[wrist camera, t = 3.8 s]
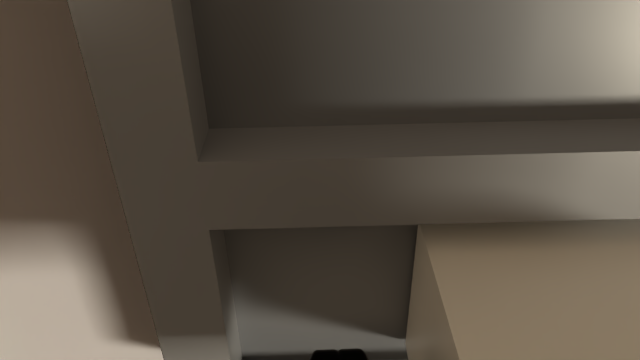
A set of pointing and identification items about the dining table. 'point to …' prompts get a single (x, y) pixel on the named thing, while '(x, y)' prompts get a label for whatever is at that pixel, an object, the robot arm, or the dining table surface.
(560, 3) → the gray shelf unit
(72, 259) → the dining table surface
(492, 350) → the tab
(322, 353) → the robot arm
